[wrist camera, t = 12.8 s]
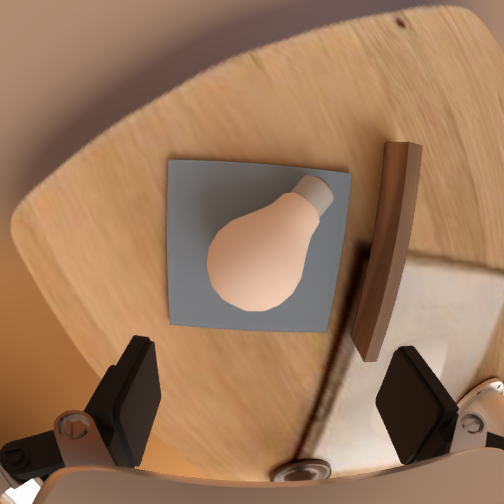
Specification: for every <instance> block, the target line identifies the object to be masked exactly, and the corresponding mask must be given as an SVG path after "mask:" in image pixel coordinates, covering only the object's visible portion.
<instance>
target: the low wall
mask: <svg viewBox="0 0 504 504" xmlns="http://www.w3.org/2000/svg"><path fill="white" fill-rule="evenodd" d="M421 155H422V145H419V144H415V143H411V142H395V143H385V149H384V160H383V170H382V179H381V187H380V195H379V203H378V210H377V217H376V223H375V229H374V235H373V241H372V247H371V252H370V257H369V263H368V268H367V273H366V277H365V282H364V287H363V291H362V296H361V300H360V304H359V308H358V312H357V316H356V320H355V324H354V328H353V332H352V336H351V338H352V340H353V342H354V344H355V346H356V348H357V350H358V351H359V353H360V355H361V357H362V359H363V361H364V362H376V361H377V358H378V355H379V352H380V349H381V346H382V343H383V340H384V337H385V334H386V331H387V328H388V324H389V321H390V318H391V314H392V311H393V307H394V304H395V300H396V296H397V293H398V289H399V285H400V281H401V277H402V273H403V268H404V264H405V259H406V255H407V250H408V245H409V240H410V235H411V230H412V224H413V218H414V212H415V205H416V199H417V191H418V184H419V175H420V166H421Z"/></svg>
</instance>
